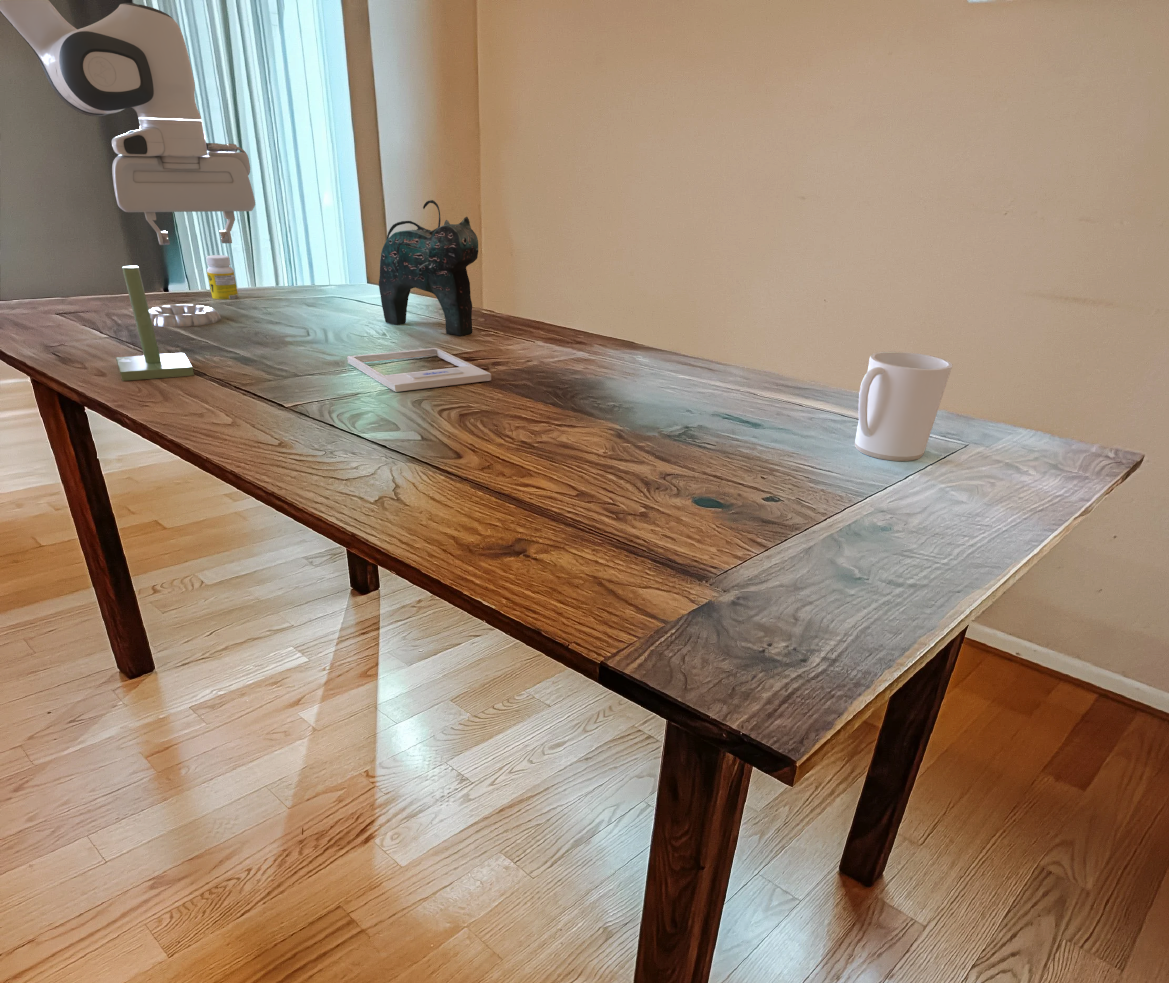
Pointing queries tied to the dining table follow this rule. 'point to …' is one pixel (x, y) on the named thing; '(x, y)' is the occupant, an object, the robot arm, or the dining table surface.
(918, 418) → the mug
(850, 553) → the dining table surface
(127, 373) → the stand
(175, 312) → the ring
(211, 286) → the supplement bottle
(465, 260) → the ceramic cat
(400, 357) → the photo frame
